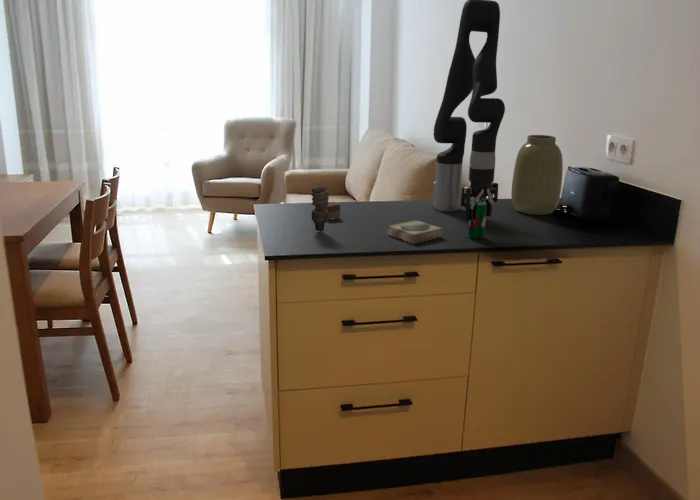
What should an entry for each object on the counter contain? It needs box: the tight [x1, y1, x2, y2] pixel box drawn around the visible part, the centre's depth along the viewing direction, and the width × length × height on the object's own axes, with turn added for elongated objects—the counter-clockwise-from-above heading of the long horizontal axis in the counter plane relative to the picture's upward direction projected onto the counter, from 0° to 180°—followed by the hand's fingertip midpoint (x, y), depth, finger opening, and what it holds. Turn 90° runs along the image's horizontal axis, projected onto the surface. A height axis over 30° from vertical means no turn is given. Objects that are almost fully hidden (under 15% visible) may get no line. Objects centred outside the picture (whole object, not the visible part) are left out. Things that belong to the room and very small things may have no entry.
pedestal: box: [387, 219, 443, 245], centre depth 196 cm, size 12×12×3 cm
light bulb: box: [311, 185, 330, 233], centre depth 196 cm, size 6×6×15 cm
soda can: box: [467, 199, 487, 240], centre depth 194 cm, size 5×5×12 cm
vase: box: [510, 134, 564, 216], centre depth 226 cm, size 17×17×27 cm
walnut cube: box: [325, 201, 341, 219], centre depth 215 cm, size 5×5×5 cm
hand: (478, 218), depth 194 cm, fingers open, 8 cm apart
